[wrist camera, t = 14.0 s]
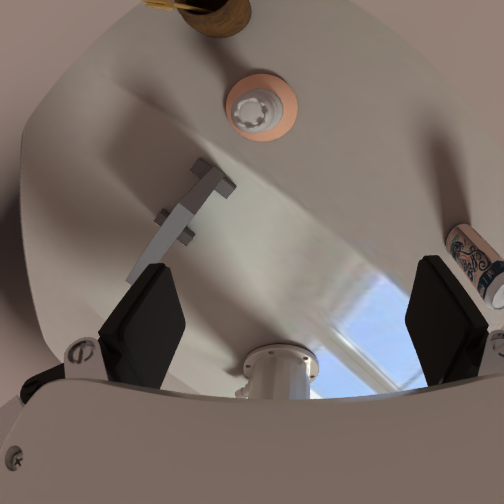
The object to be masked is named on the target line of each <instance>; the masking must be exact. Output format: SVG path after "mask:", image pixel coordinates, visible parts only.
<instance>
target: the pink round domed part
mask: <svg viewBox="0 0 504 504" xmlns="http://www.w3.org/2000/svg"><path fill="white" fill-rule="evenodd" d="M255 88H266V89H268V90H271V91H273V92H275V93H276V94H277V95H278V96H279V97H280V98H281V101H282V103H283V106H284V113H283V117H282V119H281V121H280V123H279V124H278V125H277V126H276V127H274V128H273V129H271V130H268V131H265V132H260V133H257V134H250V133H246V132H243V131H241V130H239V129H238V128H237V127H236V126H235V125H234V123H233V121H232V119H231V107H232V104H233V102H234V101H235V100H236V99H237V98H238V97H239V96H240V95H242V94H245V93H246V92H247V91H250V90H253V89H255ZM297 112H298V104H297V99H296V96H295V94H294V92H293V90H292V89H291V87H290V86H289V85H288V84H287V83H286V82H284V81H283V80H282V79H280V78H278V77H276V76H273V75H269V74H254V75H250V76H247V77H245V78H243V79H242V80H240V81H239V82H237V83H236V84H235V85H234V86H233V88H232V89H231V91H230V92H229V95H228V97H227V101H226V113H227V117H228V120H229V122H230V124H231V125H232V127H233V128H234V129H235V130H236V131H237V132H238V133H239V134H240V135H242V136H244V137H245V138H248V139H250V140H254V141H270V140H274V139H277V138H279V137H281V136H282V135H284V134H285V133H286V132H288V131H289V129H290V128H291V127H292V126H293V124H294V122H295V120H296V117H297Z"/></svg>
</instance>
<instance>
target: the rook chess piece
mask: <svg viewBox="0 0 504 504" xmlns="http://www.w3.org/2000/svg"><path fill="white" fill-rule="evenodd" d="M283 113H284V106H283V103H282V101H281V98H280V97H279V96H278V95H277V94H276V93H275V92H273V91H271V90H268V89H266V88H255V89H253V90H250V91H247V92H246V93H245V94H242V95H240V96H239V97H238V98H237V99H236V100H235V101H234V102H233V104H232V107H231V119H232V121H233V123H234V125H235V126H236V127H237V128H238V129H239V130H241V131H243V132H246V133H250V134H257V133H260V132H265V131H268V130H271V129H273V128H274V127H276V126H277V125H278V124H279V123H280V121H281V119H282V117H283Z"/></svg>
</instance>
